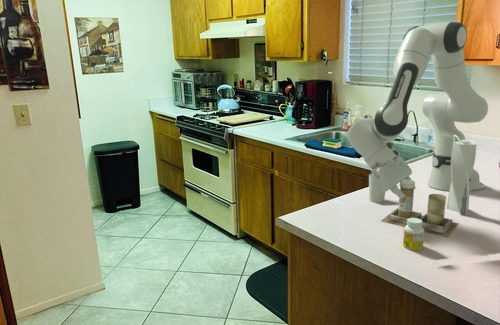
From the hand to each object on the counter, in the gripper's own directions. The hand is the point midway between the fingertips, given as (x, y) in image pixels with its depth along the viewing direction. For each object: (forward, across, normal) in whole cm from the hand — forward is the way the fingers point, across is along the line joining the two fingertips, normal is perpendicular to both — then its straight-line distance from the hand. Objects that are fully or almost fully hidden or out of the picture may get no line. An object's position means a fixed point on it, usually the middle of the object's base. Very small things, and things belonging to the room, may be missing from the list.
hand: (408, 193), depth 132 cm
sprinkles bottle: (+6, 0, +7) cm, 9 cm away
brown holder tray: (+10, 0, +5) cm, 12 cm away
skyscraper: (+15, +19, 0) cm, 25 cm away
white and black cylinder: (-4, +16, +20) cm, 26 cm away
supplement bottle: (+14, -19, +2) cm, 23 cm away
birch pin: (+13, 0, 0) cm, 13 cm away
